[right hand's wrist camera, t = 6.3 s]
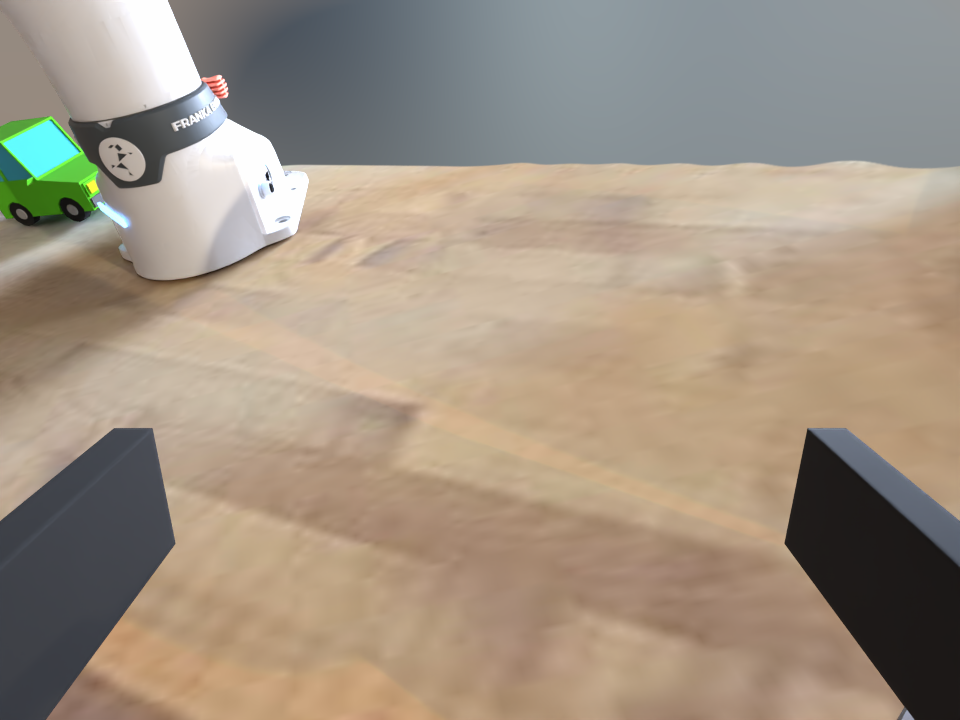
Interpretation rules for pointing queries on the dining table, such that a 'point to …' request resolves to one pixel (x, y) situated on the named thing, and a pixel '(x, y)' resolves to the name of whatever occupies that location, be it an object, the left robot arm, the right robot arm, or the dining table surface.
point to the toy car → (44, 173)
